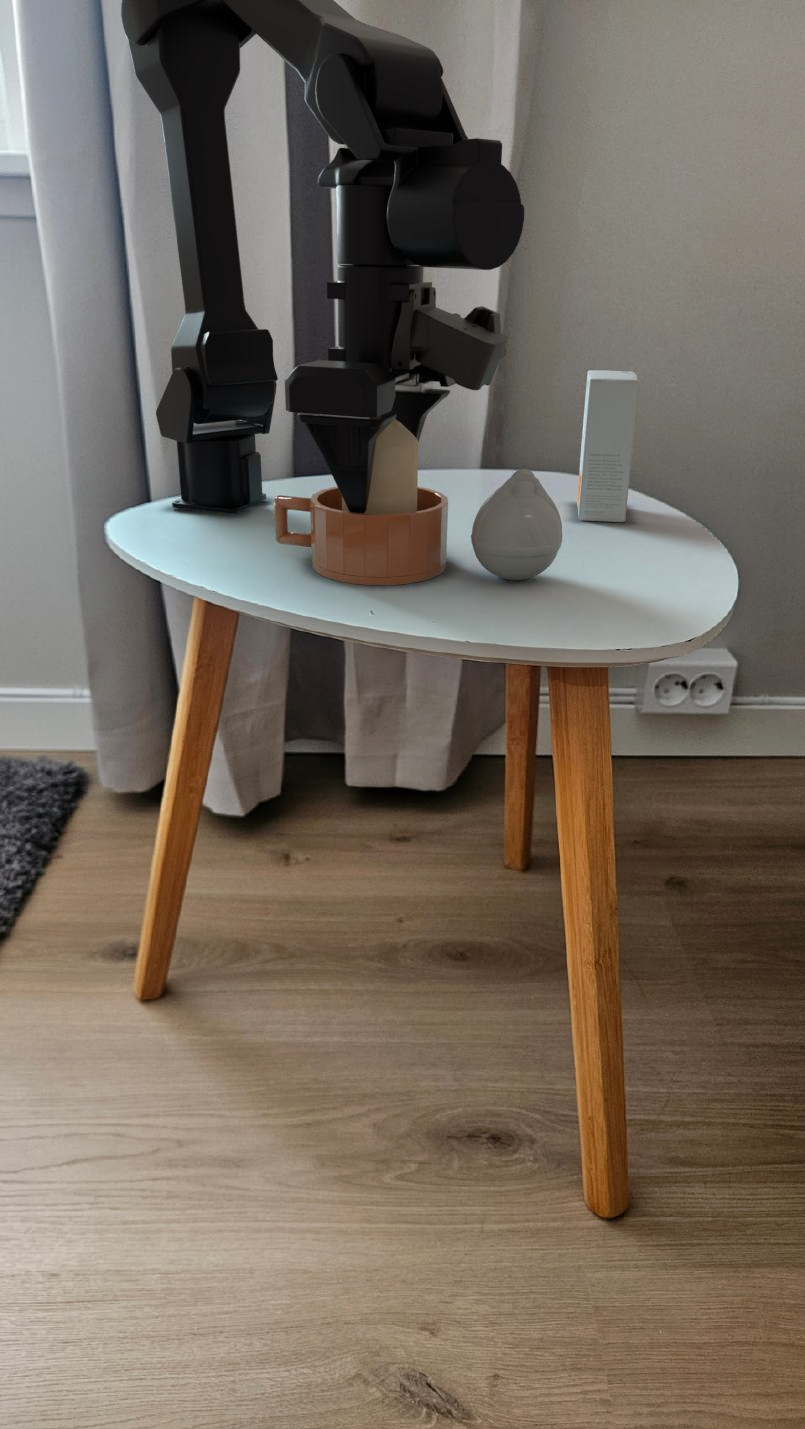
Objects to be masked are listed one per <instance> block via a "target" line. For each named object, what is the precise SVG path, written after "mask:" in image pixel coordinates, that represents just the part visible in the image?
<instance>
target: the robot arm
mask: <svg viewBox="0 0 805 1429" xmlns="http://www.w3.org/2000/svg"><path fill="white" fill-rule="evenodd" d="M120 5H121V6H120V17H121V26H122V29H123V33H124V36H125V37H126V39H127V42H128V48H129V52H130V57H131V63H132V67H133V73H134V75H135V77H136V79H137V81H138V82H139V83H140V85H141V86H142V88H143V89H144V91H145V93H146V94H147V96H148V97H149V99H150V100H151V102H152V103H153V105H154V106H155V108H156V109H157V111H158V113H159V115H160V120H161V125H162V133H163V142H164V149H165V158H166V166H167V174H168V182H169V191H170V197H171V206H172V214H173V221H174V222H173V223H174V230H175V238H176V245H177V246H176V247H177V254H178V262H179V271H180V277H181V284H182V285H181V286H182V293H183V302H184V312H185V314H184V316H183V318H182V321H181V323H180V326H179V328H178V331H177V333H176V335H175V338H174V339H173V342H172V345H171V348H170V349H171V350H170V355H171V356H170V357H171V358H170V359H171V371H172V372H171V375H170V377H169V379H168V382H167V385H166V387H165V388H164V392H163V393H162V396H161V399H160V401H159V403H158V406H157V408H156V410H155V417H156V420H157V425H158V429H159V433H160V436H161V437H163V438H166V439H168V440H169V439H170V440H173V441H174V442H176V452H177V463H178V477H179V488H180V498H178V499H176V500H173V501H171V506H172V508H174V509H183V510H191V511H192V510H193V511H202V512H211V513H219V514H220V513H221V514H230V515H232V514H233V515H235V514H238V513H241V512H243V511H245V510H246V509H249V508H251V507H253V506H255V505H257V504H259V503H261V502H263V501H265V500H267V493H264V492H263V476H262V458H261V457H262V456H261V453H260V452H259V451H257V449H256V448H257V447H256V435H268V434H270V431H271V425H272V418H273V414H274V406H275V402H276V401H275V400H276V394H277V381H278V380H279V378H278V374H277V371H276V366H275V360H274V340H273V337H272V335H271V332H270V330H269V329H267V328H264V329H263V328H260V329H259V327H258V326H257V324H256V323H255V321H254V320H253V318H252V317H251V315H250V314H249V312H248V311H247V309H246V304H245V303H246V302H245V296H244V294H245V293H244V285H243V284H244V283H243V276H242V267H241V258H240V257H241V255H240V249H239V248H240V247H239V239H238V228H237V220H236V209H235V202H234V200H235V198H234V191H233V181H232V171H231V163H230V154H229V145H228V144H229V143H228V135H227V134H228V133H227V127H226V126H227V125H226V107H227V105H228V102H229V101H230V98H231V95H232V93H233V90H234V89H235V85H236V83H237V81H238V78H239V76H240V73H241V49H242V48H243V47H244V46H245V45H246V44H247V43H248V42H249V41H250V40H251V39H252V38H253V37H255V36H256V35H257V36H258V37H259V38H261V40H262V41H264V42H265V43H266V44H267V46H268V47H269V48H271V49H272V50H273V51H274V52H275V53H276V54H278V56H280V57H281V58H282V59H283V60H284V61H285V62H286V63H287V64H288V65H289V66H290V67H291V68H292V69H293V70H295V72H297V74H298V75H299V76H300V78H301V80H302V81H303V82H304V102H305V104H306V105H307V107H308V109H309V110H310V111H311V113H312V114H313V116H314V117H315V119H316V120H317V122H318V123H319V124H320V126H321V127H322V129H323V131H325V133H326V135H327V136H328V137H329V138H330V140H331V141H333V142H335V143H336V144H338V145H345V147H338V149H337V151H336V153H335V155H334V157H333V159H332V160H331V161H330V162H329V163H328V164H327V165H326V166H324V168H323V169H322V170H321V172H320V174H319V175H318V177H317V185H318V187H319V188H321V189H336V247H337V248H336V256H337V257H336V258H337V262H336V263H337V280H336V281H327V282H326V299H327V300H337V332H338V334H337V335H338V345H337V346H333V347H329V348H327V360H325V359H323V360H322V359H317V360H315V361H311V362H306V363H302V364H298V365H296V366H295V367H294V368H293V370H292V371H291V372H290V374H289V375H287V377H286V378H285V379H284V400H285V411H286V412H288V413H295V414H296V413H297V419H298V422H299V423H302V424H304V425H305V427H306V428H307V431H308V432H309V434H310V436H311V437H312V440H313V442H314V443H315V445H316V447H317V449H318V450H319V452H320V454H321V456H322V458H323V460H324V462H325V464H326V466H327V467H328V470H329V472H330V474H331V476H332V478H333V479H334V482H335V484H336V487H338V489H339V491H340V493H341V495H342V497H343V499H344V501H345V503H346V505H347V508H348V510H349V511H350V512H354V513H365V512H366V509H367V503H368V498H369V492H370V484H371V477H372V469H373V461H374V453H375V446H376V440H377V437H378V436H379V435H380V434H381V433H382V432H383V430H384V429H385V428H386V427H387V426H388V425H389V424H390V423H391V422H392V421H393V420H394V419H396V420H397V421H399V422H400V423H401V424H402V425H403V426H405V427H406V428H407V429H408V430H409V431H410V432H411V433H412V434H413V435H414V436H415V437H416V439H417V440H418V444H419V443H420V438H421V437H422V436H421V435H422V432H423V429H424V425H425V423H426V420H427V416H428V414H429V413H430V412H431V411H432V410H433V409H435V407H436V406H437V405H439V404H440V403H441V402H442V401H443V400H444V399H446V398H447V397H448V396H449V395H450V394H451V390H450V389H441V388H433V387H434V386H433V385H434V383H435V382H436V383H439V385H440V387H445V388H449V387H451V386H454V385H458V386H460V387H462V388H464V389H468V390H471V391H480V390H481V389H482V387H483V386H490V385H491V384H492V380H493V378H494V376H495V373H496V371H497V368H498V366H499V363H500V361H501V360H502V359H503V358H505V356H506V355H507V349H506V346H507V342H508V335H505V334H503V333H502V326H501V314H500V313H499V312H497V311H494V310H492V309H490V308H487V307H485V306H482V305H481V306H476V307H474V308H473V309H472V310H471V311H470V312H469V313H468V314H467V315H465V317H462V316H461V314H459V313H457V312H454V313H451V312H448V311H446V310H444V309H441V308H439V307H437V302H436V301H437V289H436V288H435V286H434V287H433V281H424V269H425V268H433V269H435V268H436V269H438V268H439V269H457V270H458V269H459V270H477V271H479V270H481V271H491V270H494V269H497V268H499V267H500V268H501V266H502V265H504V264H505V263H506V262H508V260H509V259H511V257H512V255H514V253H515V251H516V249H517V247H518V245H519V243H520V240H521V237H522V233H523V229H524V224H525V223H524V222H525V206H524V205H523V204H522V199H521V198H522V197H521V193H520V190H519V187H518V183H517V181H516V180H515V178H514V176H513V175H512V173H511V172H510V170H508V168H507V167H505V166H504V165H503V163H502V159H503V142H501V140H498V139H486V138H477V137H476V138H475V137H474V138H469V137H468V135H467V134H466V132H465V129H464V127H463V125H462V122H461V120H460V117H459V115H458V113H457V110H456V108H455V106H454V103H453V101H452V99H451V96H450V93H449V92H448V89H447V88H446V85H445V83H444V80H443V78H442V77H443V75H444V67H443V65H442V63H441V60H440V59H439V57H438V56H437V54H436V53H435V51H434V50H432V49H431V48H430V47H428V46H426V45H424V44H421V43H418V42H417V41H414V40H412V39H410V38H407V37H405V36H403V35H400V34H398V33H394V32H391V31H388V30H385V29H383V28H379V27H376V26H373V25H370V24H367V23H365V22H362V21H361V20H359V19H356V17H354V16H353V15H352V14H350V13H349V12H348V11H347V10H346V9H344V8H343V7H342V6H341V5H339V3H337V2H336V1H335V0H121V3H120Z"/></svg>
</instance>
